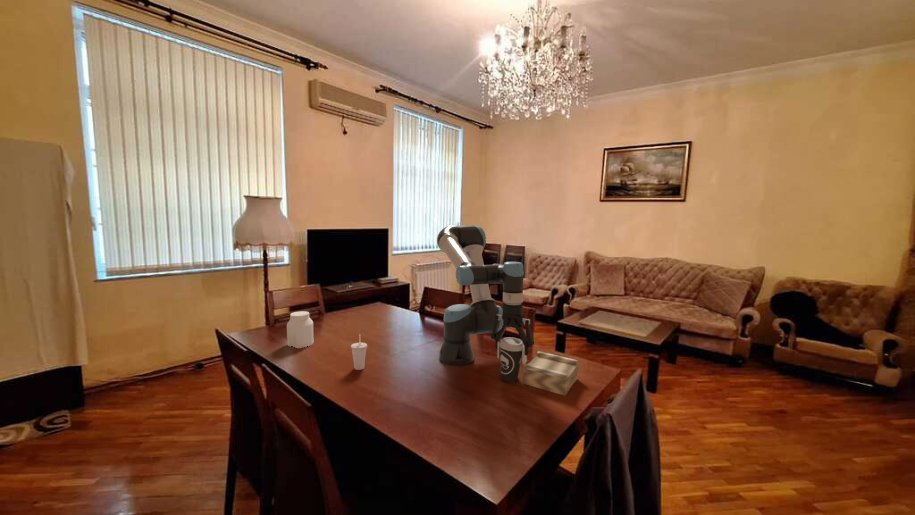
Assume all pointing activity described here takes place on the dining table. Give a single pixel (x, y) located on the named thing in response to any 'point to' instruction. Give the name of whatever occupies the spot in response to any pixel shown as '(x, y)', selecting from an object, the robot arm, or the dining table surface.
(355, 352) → the smoothie
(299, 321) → the jar
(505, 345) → the coffee cup
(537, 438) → the dining table surface
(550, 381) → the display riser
